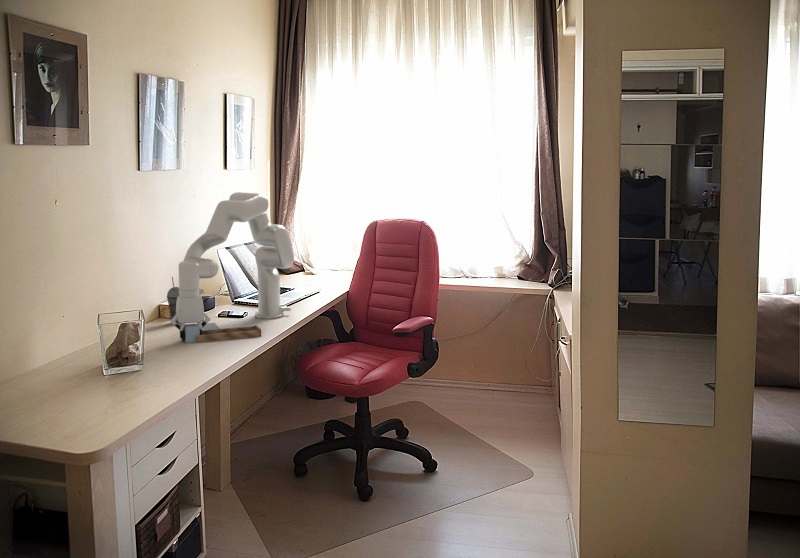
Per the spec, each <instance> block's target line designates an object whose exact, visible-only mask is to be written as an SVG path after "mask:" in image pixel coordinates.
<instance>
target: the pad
mask: <svg viewBox="0 0 800 558" xmlns="http://www.w3.org/2000/svg"><path fill="white" fill-rule="evenodd" d="M196 324H197V323H196ZM197 325H198V324H197ZM213 329H221V328H220V327H219V326H218V325H217V323H216V322H208V323H207V324H206V325H205V326H204V327H203V329H202V330H213Z"/></svg>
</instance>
